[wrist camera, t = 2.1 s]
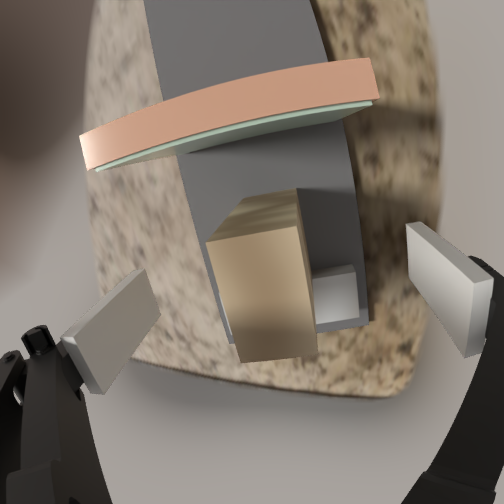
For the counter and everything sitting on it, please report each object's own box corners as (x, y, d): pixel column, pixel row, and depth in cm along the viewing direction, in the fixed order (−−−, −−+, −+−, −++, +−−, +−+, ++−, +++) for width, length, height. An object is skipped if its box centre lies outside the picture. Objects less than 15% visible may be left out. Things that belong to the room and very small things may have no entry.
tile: (332, 97, 15) (369, 57, 7) (337, 121, 16) (380, 103, 7) (174, 133, 17) (79, 135, 9) (180, 155, 18) (88, 174, 9)
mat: (290, -47, 13) (290, -50, 12) (367, 320, 20) (368, 324, 20) (145, -6, 14) (142, -9, 14) (230, 339, 22) (229, 343, 21)
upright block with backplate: (340, 180, 17) (374, 212, 9) (356, 307, 19) (381, 397, 12) (201, 206, 18) (141, 254, 11) (234, 324, 21) (204, 413, 13)
